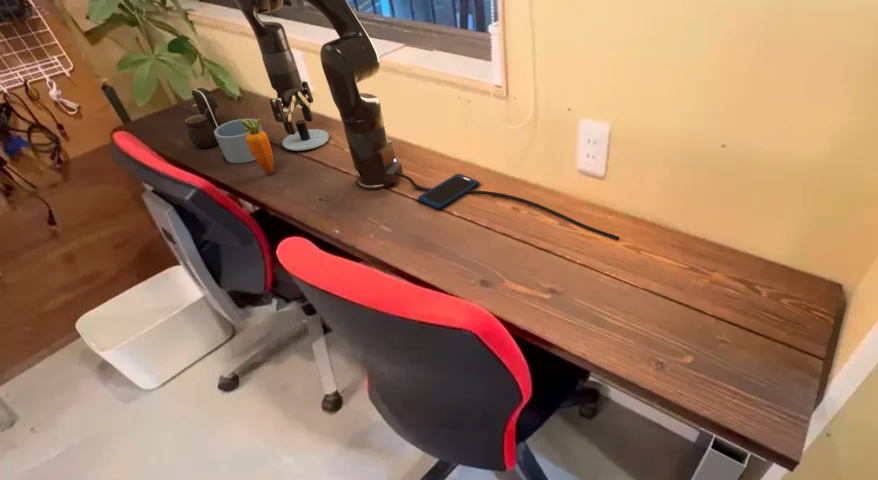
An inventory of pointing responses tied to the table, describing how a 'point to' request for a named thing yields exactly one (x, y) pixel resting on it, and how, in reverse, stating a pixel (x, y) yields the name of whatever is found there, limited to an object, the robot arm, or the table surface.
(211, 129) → the mate gourd
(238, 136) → the pot
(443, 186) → the cell phone
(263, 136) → the carrot
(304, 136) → the lid
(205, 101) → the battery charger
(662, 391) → the table surface
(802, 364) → the table surface
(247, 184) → the table surface
